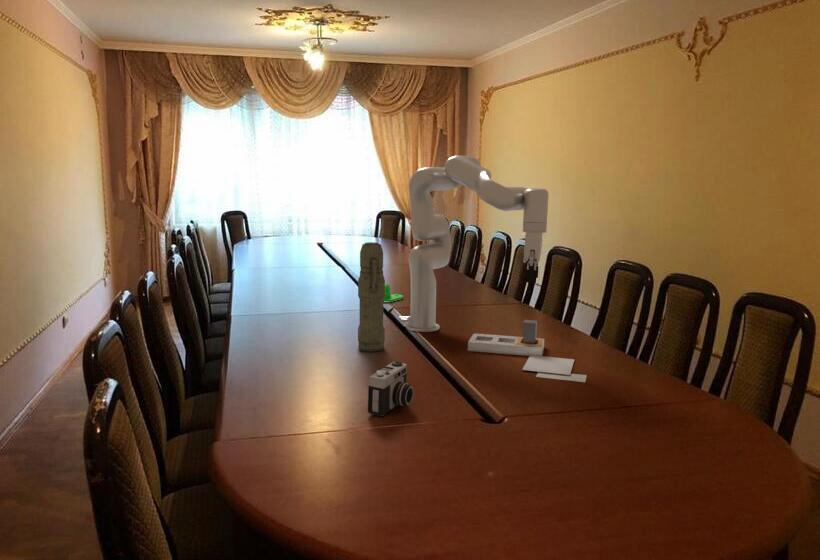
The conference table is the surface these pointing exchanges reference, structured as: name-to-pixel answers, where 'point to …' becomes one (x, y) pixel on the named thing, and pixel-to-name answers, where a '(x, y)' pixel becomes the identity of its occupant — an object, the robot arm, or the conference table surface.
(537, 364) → the paper stack
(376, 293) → the stone statue
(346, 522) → the conference table surface
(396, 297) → the mechanical part
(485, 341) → the white compartment tray
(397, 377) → the camera
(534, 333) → the peg
